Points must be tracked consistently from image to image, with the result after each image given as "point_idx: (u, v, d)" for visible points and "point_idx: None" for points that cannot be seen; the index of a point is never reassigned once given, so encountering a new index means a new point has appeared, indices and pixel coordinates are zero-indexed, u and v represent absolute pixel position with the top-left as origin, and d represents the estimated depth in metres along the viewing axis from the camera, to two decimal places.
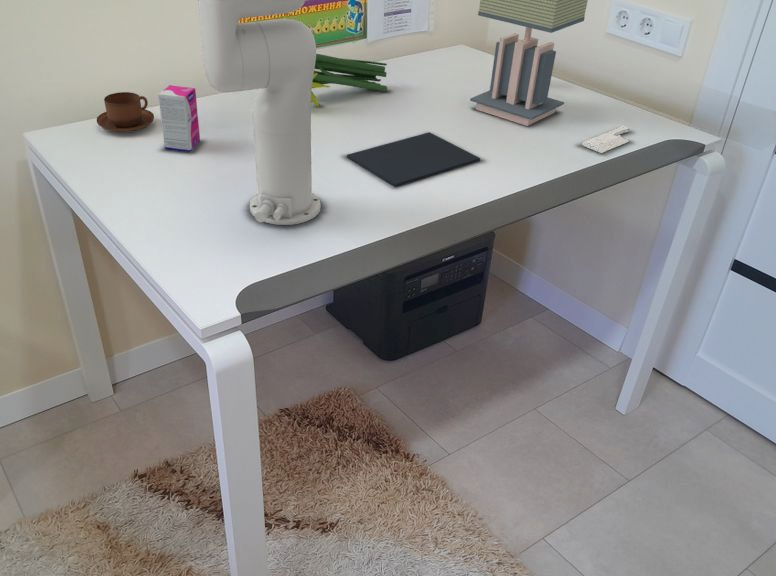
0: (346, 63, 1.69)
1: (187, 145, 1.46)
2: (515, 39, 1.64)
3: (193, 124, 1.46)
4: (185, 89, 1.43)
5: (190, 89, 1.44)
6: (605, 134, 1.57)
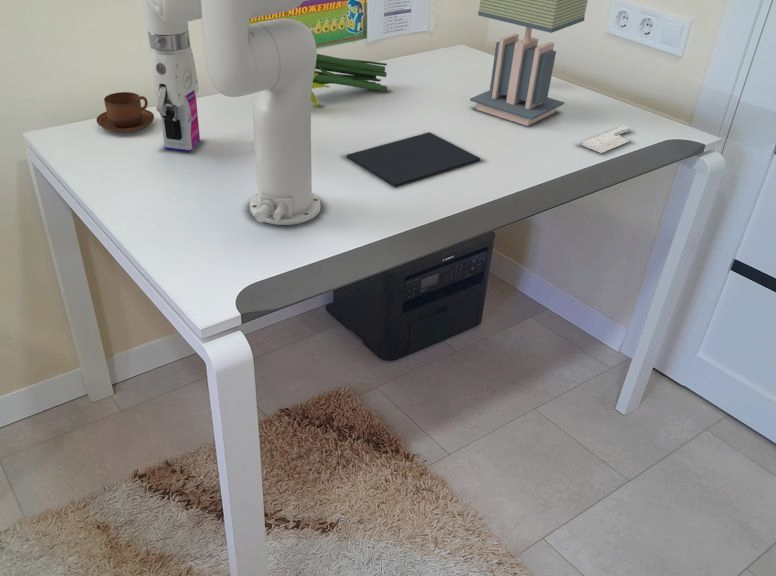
0: (346, 63, 1.69)
1: (187, 145, 1.46)
2: (515, 39, 1.64)
3: (193, 124, 1.46)
4: None
5: None
6: (605, 134, 1.57)
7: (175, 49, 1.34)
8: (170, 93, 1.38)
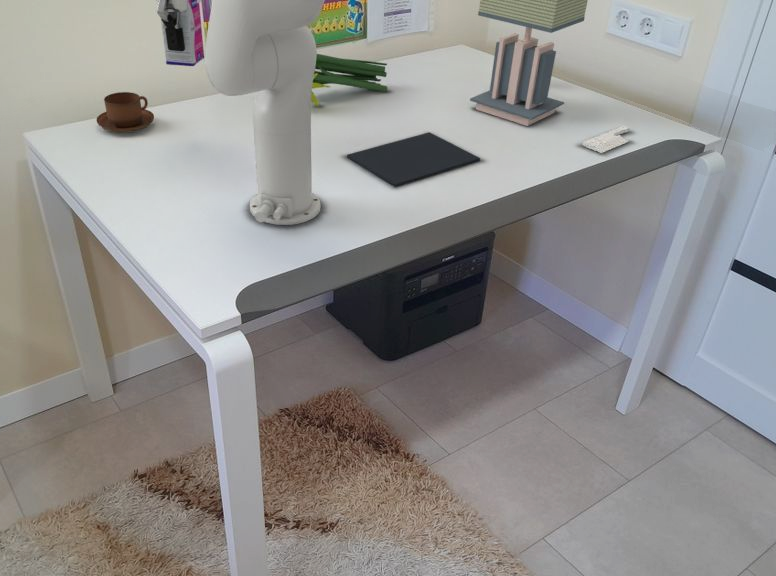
0: (346, 63, 1.69)
1: (190, 57, 1.35)
2: (515, 39, 1.64)
3: (197, 35, 1.35)
4: None
5: None
6: (605, 134, 1.57)
7: None
8: None
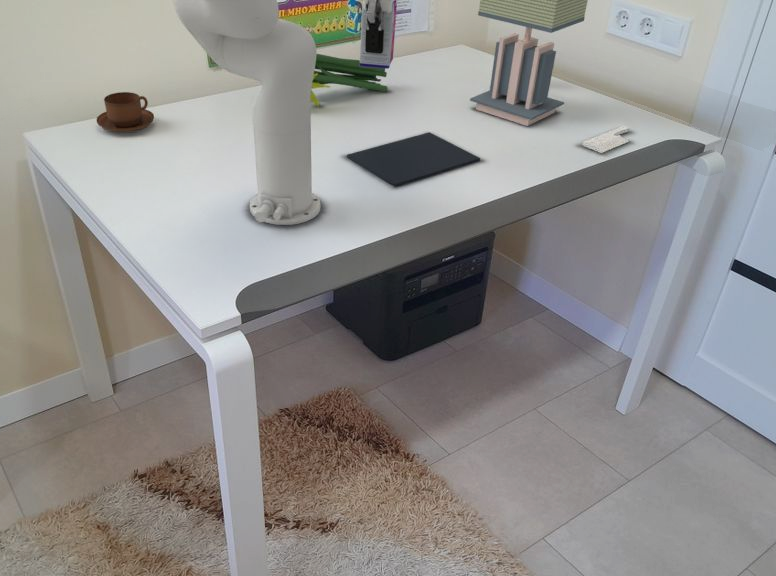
0: (346, 63, 1.69)
1: (386, 60, 1.33)
2: (515, 39, 1.64)
3: (393, 37, 1.33)
4: None
5: None
6: (605, 134, 1.57)
7: None
8: None
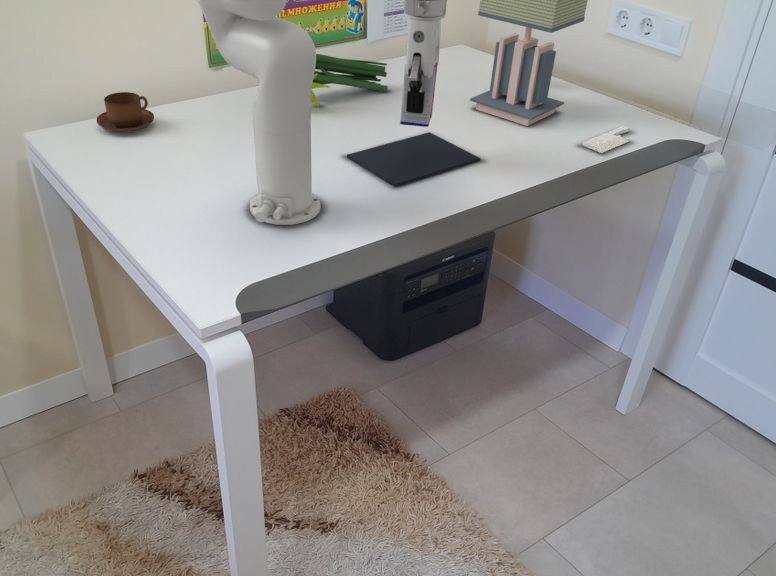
0: (346, 63, 1.69)
1: (426, 119, 1.39)
2: (515, 39, 1.64)
3: None
4: None
5: None
6: (605, 134, 1.57)
7: (435, 15, 1.27)
8: (424, 63, 1.30)
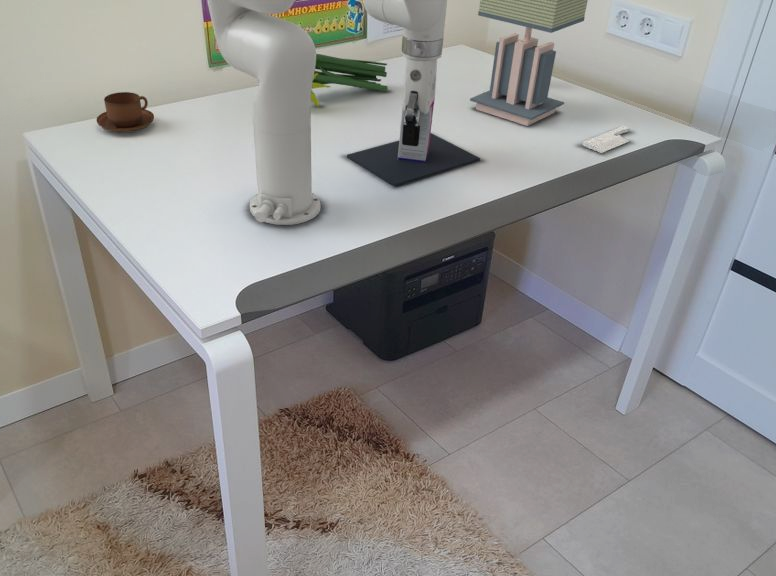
0: (346, 63, 1.69)
1: (423, 155, 1.43)
2: (515, 39, 1.64)
3: (429, 134, 1.43)
4: None
5: None
6: (605, 134, 1.57)
7: (432, 55, 1.31)
8: (421, 100, 1.34)
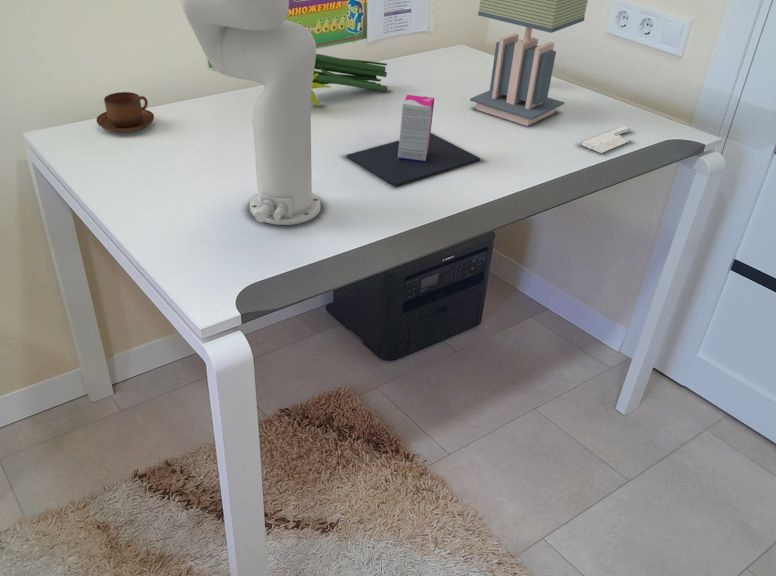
0: (347, 63, 1.69)
1: (423, 155, 1.43)
2: (515, 39, 1.64)
3: (429, 134, 1.43)
4: (426, 99, 1.41)
5: (430, 99, 1.41)
6: (605, 134, 1.57)
7: None
8: None
